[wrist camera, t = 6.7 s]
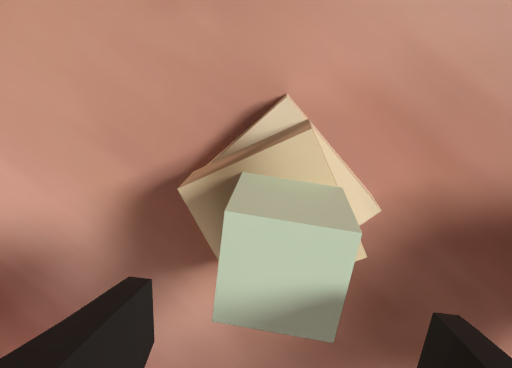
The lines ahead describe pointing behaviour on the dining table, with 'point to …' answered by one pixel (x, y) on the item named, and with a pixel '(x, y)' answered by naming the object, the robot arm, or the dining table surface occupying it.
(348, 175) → the beech slab bottom
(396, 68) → the dining table surface
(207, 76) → the dining table surface
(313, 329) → the sage cube
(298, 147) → the beech slab top
